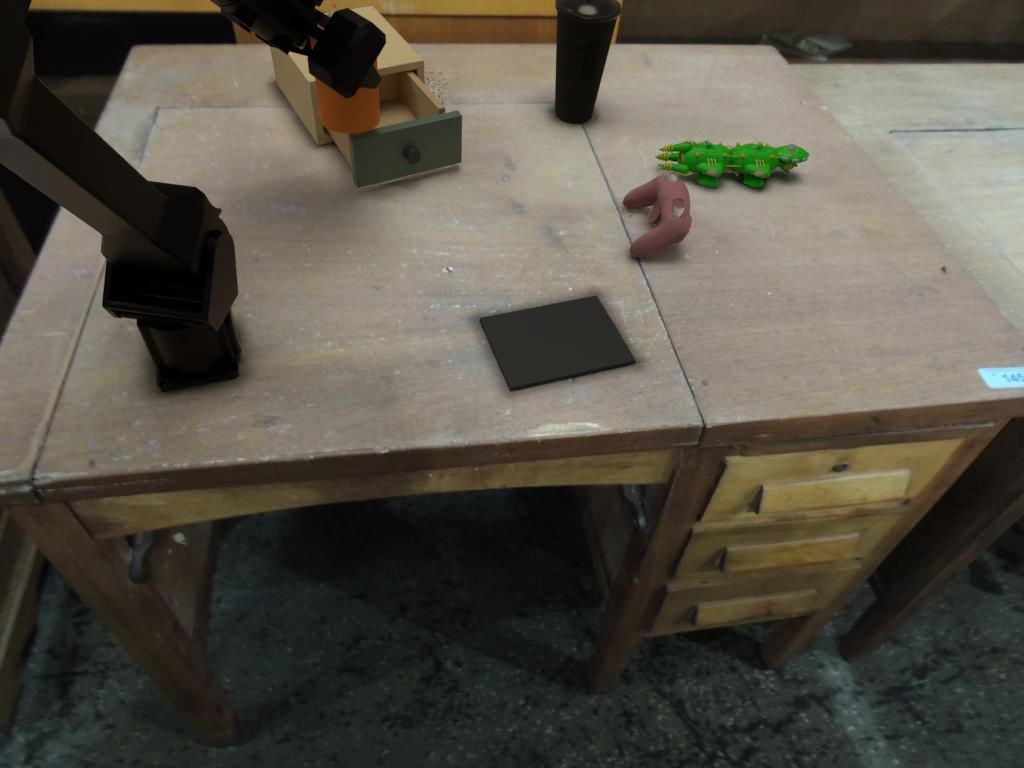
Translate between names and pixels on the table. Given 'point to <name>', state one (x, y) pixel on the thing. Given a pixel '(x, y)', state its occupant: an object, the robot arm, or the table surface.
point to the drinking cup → (581, 54)
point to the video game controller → (661, 213)
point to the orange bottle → (347, 106)
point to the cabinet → (302, 84)
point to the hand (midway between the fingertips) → (358, 70)
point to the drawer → (403, 134)
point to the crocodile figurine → (731, 160)
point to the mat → (555, 342)
